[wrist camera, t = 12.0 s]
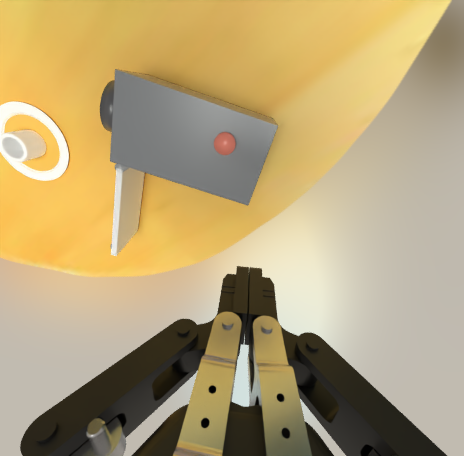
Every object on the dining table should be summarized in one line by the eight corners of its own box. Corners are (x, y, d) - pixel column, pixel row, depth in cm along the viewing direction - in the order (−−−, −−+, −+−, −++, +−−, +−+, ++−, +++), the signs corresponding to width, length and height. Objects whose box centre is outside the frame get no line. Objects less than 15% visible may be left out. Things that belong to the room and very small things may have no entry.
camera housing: (124, 142, 38) (85, 156, 29) (130, 68, 33) (86, 59, 25) (249, 183, 39) (248, 208, 31) (272, 118, 35) (278, 126, 26)
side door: (138, 148, 38) (112, 161, 31) (148, 151, 38) (124, 165, 31) (130, 228, 45) (107, 253, 38) (138, 231, 45) (117, 256, 38)
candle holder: (25, 184, 43) (3, 193, 40) (-21, 111, 38) (-51, 113, 34) (84, 172, 41) (67, 180, 38) (45, 92, 36) (20, 92, 32)
